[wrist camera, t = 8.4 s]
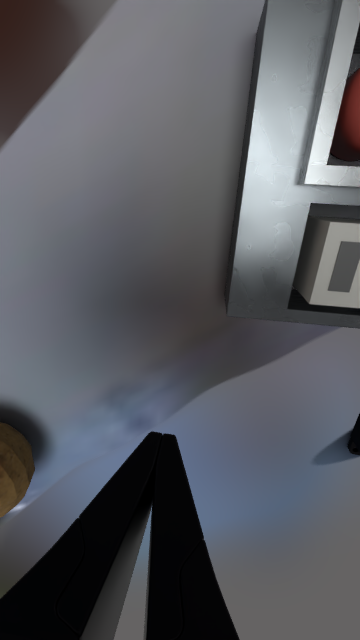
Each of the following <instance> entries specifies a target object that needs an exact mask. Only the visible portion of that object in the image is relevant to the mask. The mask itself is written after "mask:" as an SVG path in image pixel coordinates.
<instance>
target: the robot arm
mask: <svg viewBox="0 0 360 640" xmlns="http://www.w3.org/2000/svg"><path fill="white" fill-rule="evenodd" d="M347 447H348V449H349V451H350V453H352V454H356V455H360V414H359V416H358V418H357V421H356V424H355V426H354V428H353V431H352V433H351V438H350V440H349V443H348V446H347ZM151 507H152V515H151V531H150V547H149V561H148V578H147V593H146V609H145V626H144V640H239V637H238V635H237V632H236V629H235V627H234V624H233V622H232V619H231V617H230V614H229V612H228V609H227V607H226V604H225V601H224V599H223V596H222V593H221V591H220V588H219V585H218V582H217V580H216V577H215V573H214V570H213V567H212V564H211V560H210V557H209V553H208V550H207V547H206V543H205V541H204V536H203V532H202V529H201V525H200V522H199V518H198V515H197V511H196V507H195V504H194V500H193V496H192V493H191V489H190V486H189V482H188V478H187V475H186V471H185V468H184V464H183V460H182V457H181V453H180V450H179V446H178V442H177V439H176V436H175V435H171V434H163V435H162V433H158V432H150V433H149V434H148V435H147V436H146V437H145V438H144V440H143V441H142V442H141V443H140V445H138V447H137V448H136V449H135V450H134V452H133V453H132V454H131V455H130V456H129V457H128V459H127V460H126V461H125V462H124V463H123V464H122V466H121V467H120V468H119V469H118V470H117V472H116V473H115V474H114V475H113V476H112V478H111V479H110V480H109V481H108V482H107V483H106V485H105V486H104V487H103V488H102V489H101V491H100V492H99V493H98V494H97V495H96V497H95V498H94V499H93V500H92V501H91V502H90V504H89V505H88V506H87V507H86V508H85V510H84V511H83V512H82V513H81V514H80V516H79V518H77V519H76V520H75V521H74V522H73V524H72V525H71V526H70V527H69V528H68V530H67V531H66V532H65V533H64V534H63V535H62V536H61V537H60V539H59V540H58V541H57V542H56V543H55V544H54V545H53V546H52V548H51V549H50V550H49V551H48V552H47V553H46V554H45V555H44V556H43V557H42V558H41V559H40V560H39V561H38V562H37V563H36V564H35V565H34V566H33V567H32V568H31V569H30V570H29V571H28V572H27V573H26V574H25V575H24V576H23V577H22V578H21V579H20V580H19V581H18V582H17V583H16V584H15V585H14V586H13V587H12V588H11V589H10V590H9V591H8V592H7V593H6V594H5V595H4V596H3V597H2V598H0V640H113V639H114V636H115V632H116V629H117V625H118V622H119V618H120V615H121V611H122V608H123V605H124V601H125V598H126V594H127V591H128V587H129V584H130V580H131V577H132V574H133V570H134V566H135V563H136V560H137V556H138V553H139V549H140V546H141V543H142V539H143V536H144V532H145V528H146V525H147V522H148V518H149V514H150V511H151Z"/></svg>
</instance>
